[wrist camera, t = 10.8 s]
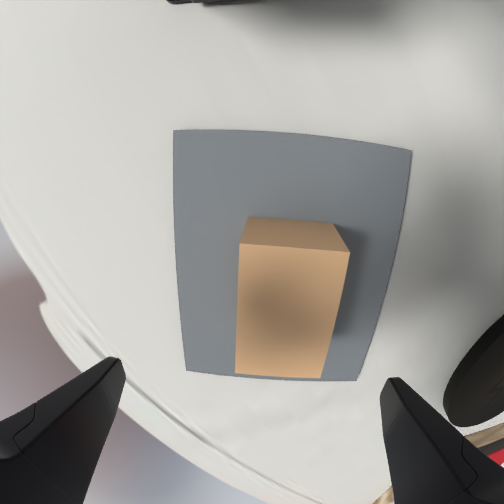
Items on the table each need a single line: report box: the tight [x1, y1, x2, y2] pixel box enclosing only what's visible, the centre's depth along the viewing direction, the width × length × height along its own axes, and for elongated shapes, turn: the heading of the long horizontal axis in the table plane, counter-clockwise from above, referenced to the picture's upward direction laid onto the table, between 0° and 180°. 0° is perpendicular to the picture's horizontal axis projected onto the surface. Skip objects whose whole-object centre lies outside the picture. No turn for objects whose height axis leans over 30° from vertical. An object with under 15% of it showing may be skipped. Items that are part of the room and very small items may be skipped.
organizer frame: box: [373, 423, 504, 504], centre depth 31 cm, size 30×25×2 cm
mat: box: [173, 130, 411, 381], centre depth 19 cm, size 18×14×1 cm
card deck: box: [235, 216, 350, 378], centre depth 17 cm, size 5×8×4 cm, turn 177°
